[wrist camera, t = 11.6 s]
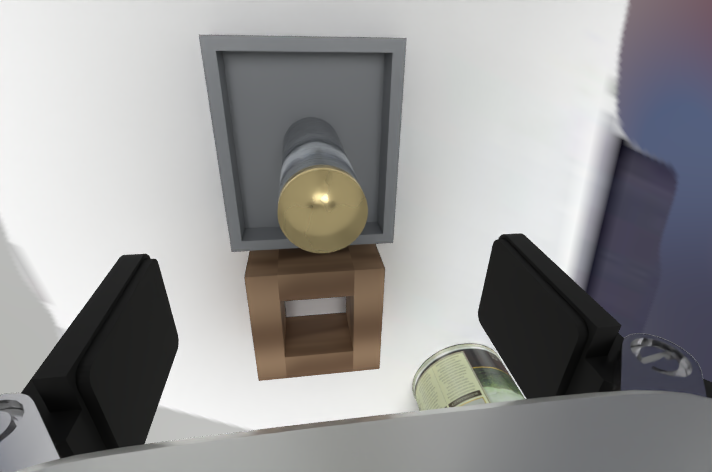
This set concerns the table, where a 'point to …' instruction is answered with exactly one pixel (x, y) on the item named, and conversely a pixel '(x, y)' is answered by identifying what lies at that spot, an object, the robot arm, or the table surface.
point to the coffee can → (463, 379)
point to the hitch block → (315, 332)
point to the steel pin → (319, 189)
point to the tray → (297, 101)
